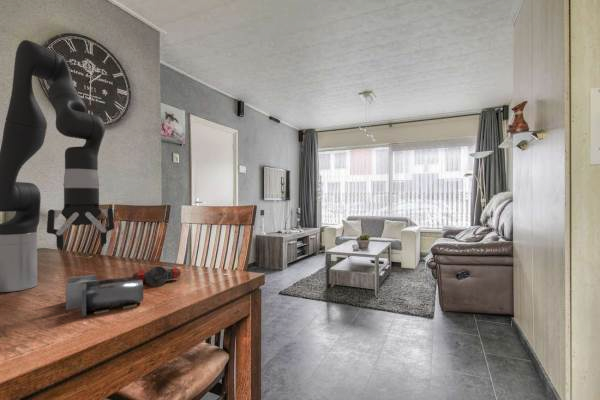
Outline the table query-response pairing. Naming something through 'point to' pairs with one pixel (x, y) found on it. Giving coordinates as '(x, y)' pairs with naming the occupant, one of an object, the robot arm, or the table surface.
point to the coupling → (77, 290)
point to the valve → (148, 276)
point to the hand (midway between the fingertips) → (82, 247)
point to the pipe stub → (111, 296)
